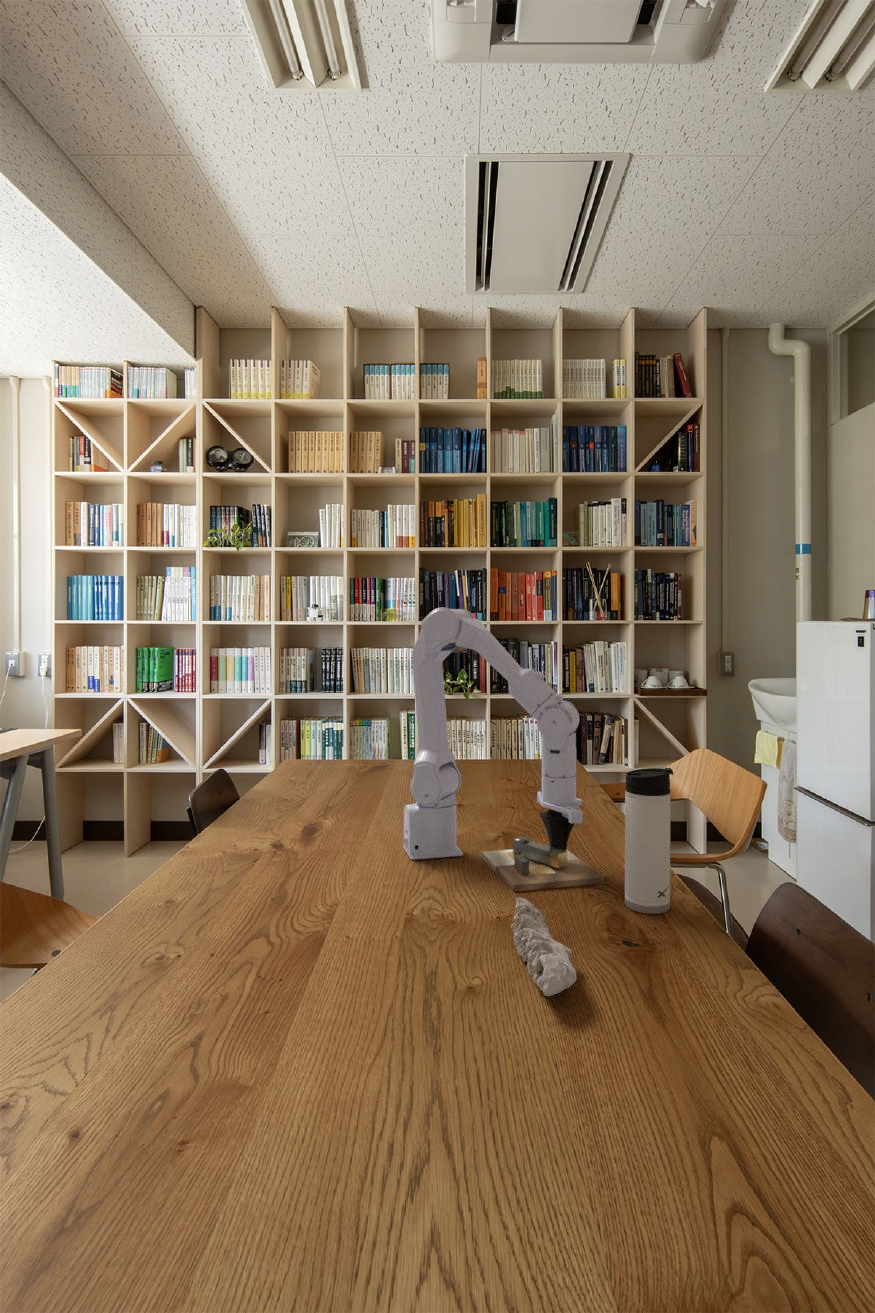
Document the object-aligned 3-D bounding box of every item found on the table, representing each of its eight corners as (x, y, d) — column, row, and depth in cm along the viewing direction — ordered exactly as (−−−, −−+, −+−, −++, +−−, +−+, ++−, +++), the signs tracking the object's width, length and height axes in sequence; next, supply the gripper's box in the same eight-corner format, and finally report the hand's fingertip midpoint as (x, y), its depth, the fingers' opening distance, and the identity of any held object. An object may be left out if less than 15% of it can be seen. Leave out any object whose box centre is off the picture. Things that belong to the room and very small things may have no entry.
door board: (513, 891, 107) (513, 871, 107) (481, 857, 123) (481, 839, 123) (603, 883, 110) (604, 863, 110) (561, 851, 127) (561, 833, 127)
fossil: (504, 931, 93) (504, 894, 93) (549, 930, 93) (549, 892, 93) (540, 1017, 72) (540, 968, 72) (597, 1014, 73) (597, 966, 72)
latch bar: (510, 854, 121) (510, 838, 121) (521, 850, 123) (521, 835, 123) (557, 869, 113) (557, 852, 113) (568, 865, 115) (568, 849, 115)
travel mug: (675, 916, 97) (676, 773, 97) (626, 913, 98) (626, 771, 98) (669, 899, 103) (670, 765, 103) (623, 896, 105) (623, 763, 104)
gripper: (600, 782, 111) (599, 866, 112) (563, 765, 125) (563, 840, 126) (559, 784, 109) (558, 870, 110) (526, 767, 124) (526, 843, 124)
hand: (558, 854), depth 118 cm, fingers closed, pressing on latch bar
